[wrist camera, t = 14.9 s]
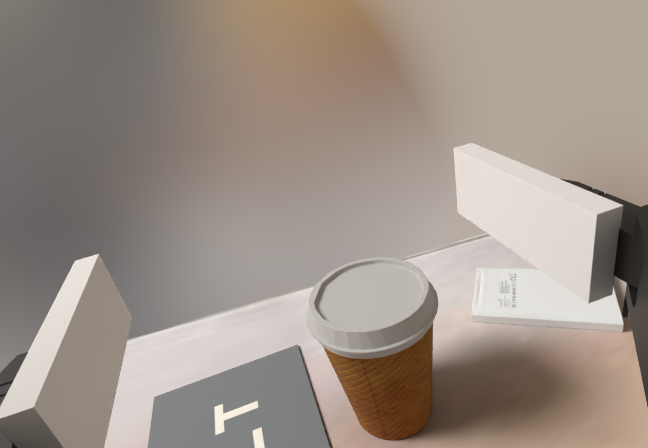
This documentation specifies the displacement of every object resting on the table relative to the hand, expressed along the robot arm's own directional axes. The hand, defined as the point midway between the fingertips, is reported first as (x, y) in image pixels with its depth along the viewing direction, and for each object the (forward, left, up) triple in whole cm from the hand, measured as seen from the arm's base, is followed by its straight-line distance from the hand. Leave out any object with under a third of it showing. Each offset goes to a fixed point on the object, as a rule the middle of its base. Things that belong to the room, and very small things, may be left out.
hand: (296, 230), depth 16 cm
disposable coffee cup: (+5, +11, -24) cm, 26 cm away
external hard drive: (+23, +16, -24) cm, 37 cm away
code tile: (-9, +14, -23) cm, 29 cm away
